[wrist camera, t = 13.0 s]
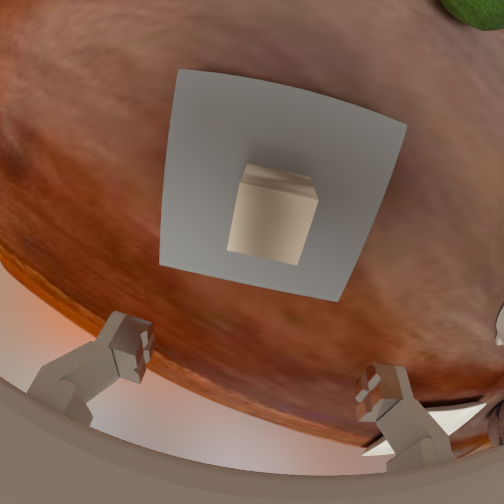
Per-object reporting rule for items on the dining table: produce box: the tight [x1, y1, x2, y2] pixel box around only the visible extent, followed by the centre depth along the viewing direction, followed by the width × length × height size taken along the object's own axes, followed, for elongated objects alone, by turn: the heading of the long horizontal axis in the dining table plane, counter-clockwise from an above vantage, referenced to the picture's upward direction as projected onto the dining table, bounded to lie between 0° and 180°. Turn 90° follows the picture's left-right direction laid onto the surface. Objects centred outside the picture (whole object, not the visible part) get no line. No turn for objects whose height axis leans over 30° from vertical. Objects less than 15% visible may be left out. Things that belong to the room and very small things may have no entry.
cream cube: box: [227, 163, 319, 265], centre depth 21 cm, size 5×5×5 cm
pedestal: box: [159, 69, 408, 302], centre depth 26 cm, size 18×18×6 cm
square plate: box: [362, 402, 487, 456], centre depth 56 cm, size 27×27×4 cm
